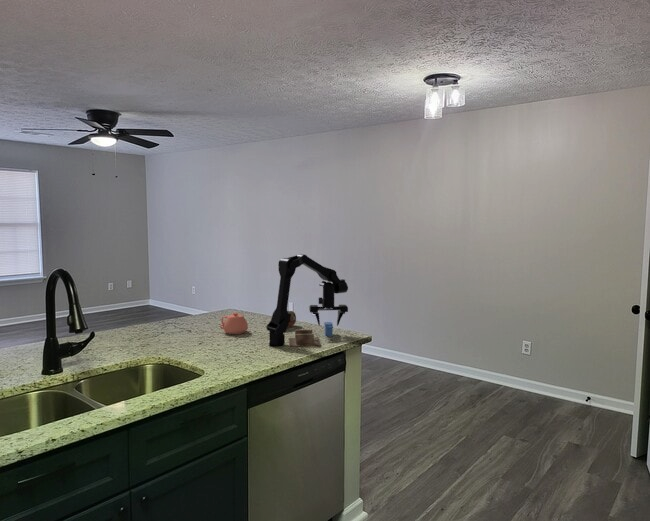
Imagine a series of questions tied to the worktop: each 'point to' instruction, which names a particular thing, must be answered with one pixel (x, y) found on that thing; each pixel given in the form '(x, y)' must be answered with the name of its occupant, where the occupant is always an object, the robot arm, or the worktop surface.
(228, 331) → the sugar bowl
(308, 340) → the cradle
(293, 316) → the tin
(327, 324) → the block
